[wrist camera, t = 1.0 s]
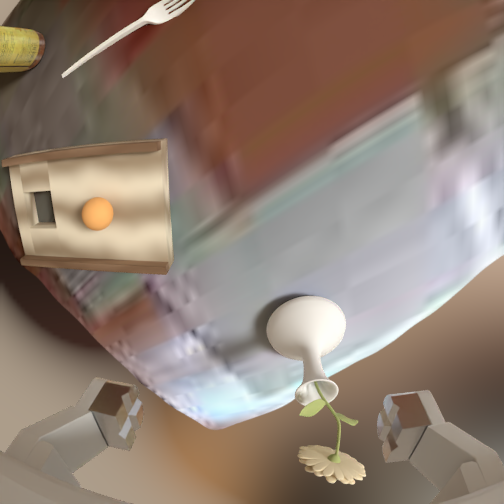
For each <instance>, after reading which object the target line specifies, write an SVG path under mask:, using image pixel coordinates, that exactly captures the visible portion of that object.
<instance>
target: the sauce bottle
mask: <svg viewBox="0 0 504 504" xmlns="http://www.w3.org/2000/svg"><path fill="white" fill-rule="evenodd" d="M44 50H45V39H44V37H43V35H42V34H41V33H39V32H37V31H34V30H31V29H24V28H15V27H8V26H0V72H21V71H26V70H29V69H31V68H33V67H35V66H36V65H37V64H38V63H39V61H40V60H41V58H42V56H43V54H44Z"/></svg>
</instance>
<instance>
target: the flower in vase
mask: <svg viewBox="0 0 504 504" xmlns="http://www.w3.org/2000/svg"><path fill="white" fill-rule="evenodd" d="M345 328H346V320H345V316H344V313H343V312H342V310H341V309H340V307H339V306H338V305H336V304H335V303H334V302H332V301H331V300H328V299H326V298H323V297H318V296H302V297H297V298H294V299H292V300H289V301H287V302H285V303H284V304H282V305H281V306H279V307H278V308H277V309H276V310H275V311H274V312H273V313H272V315H271V317H270V318H269V320H268V323H267V329H266V330H267V337H268V340H269V342H270V343H271V345H272V347H273V348H274V349H275V350H276V351H277V352H278V353H279V354H281V355H283V356H285V357H287V358H290V359H294V360H300V361H303V364H304V377H303V382H302V384H301V385H300V386H299V387H298V389H297V390H296V392H295V398H296V400H297V401H298V402H299V403H300V404H302V405H304V406H305V407H304V409H303V410H302V411H301V413H300V415H299V416H305V417H311V416H313V415H315V414H316V413H317V412H319V411H320V410H321V409H322V408H323V406H324V405H325V404H326V405H327V407H328V408H329V409H330V411H331V412H332V413H333V415H334V417H335V418H336V421H337V424H338V434H337V444H336V450H332V449H331V448H329V447H322V446H319V445H315V446H312V445H308V446H307V447H305V446H301V447H300V449H301V450H300V451H299V453H300V454H298V457H299V458H301V459H300V460H299V462H301V463H303V464H306V465H308V466H306V467H305V470H306V471H307V472H314V474H315V475H317V476H326V480H327V481H328V482H330V483H335V482H336V480H337V479H338V480H340V481H341V482H342V483H344V484H347V483H349V484H355V481H354V480H353V478H354V479H357V480H362V479H363V478H362V476H363V477H365V476H366V474H365V473H364V472H365V470H364V469H363V468H364V466H363V465H362V464H361V463H358V462H357V460H355V459H354V458H352V457H350V456H349V455H348V454H345V453H342V452H340V451H339V444H340V434H341V424H340V420H342V421H344V422H346V423H348V424H350V425H352V426H354V425H356V424H357V423H358V420H353V419H349V418H347V417H345V416H344V415H342V414H340V413H337V414H336V413H335V411H334V410H333V409H332V408H331V406H330V404H329V402H331V401H332V400H333V399H334V398H335V397H336V396H337V394H338V386H337V385H336V384H335V383H334V382H333V381H331V380H329V379H328V378H327V377H326V375H325V373H324V371H323V368H322V364H321V359H320V357H322V356H325V355H326V354H328V353H329V352H331V351H332V350H333V349H335V348H336V347H337V346H338V344H339V343H340V342H341V340H342V338H343V336H344V332H345ZM339 419H340V420H339Z"/></svg>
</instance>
